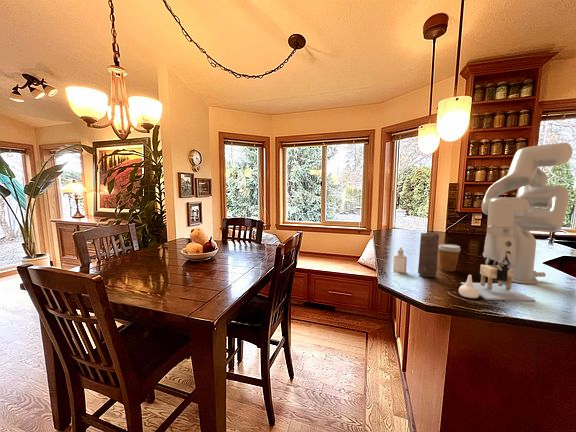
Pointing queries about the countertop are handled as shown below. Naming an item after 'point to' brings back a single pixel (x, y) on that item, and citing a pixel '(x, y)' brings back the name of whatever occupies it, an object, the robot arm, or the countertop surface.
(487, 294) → the felt mat
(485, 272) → the beech stool
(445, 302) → the countertop surface
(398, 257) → the eye dropper bottle
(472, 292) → the garlic bulb
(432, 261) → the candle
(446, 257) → the disposable coffee cup
